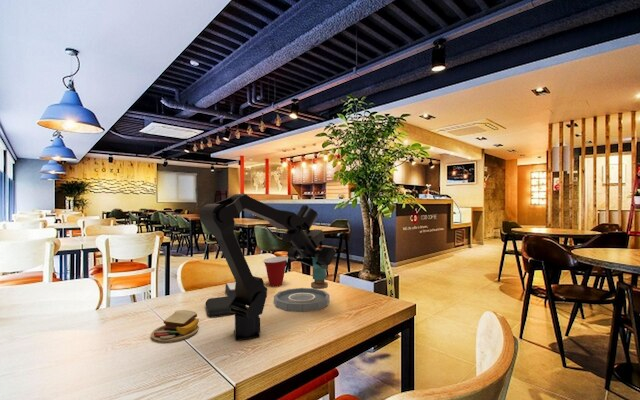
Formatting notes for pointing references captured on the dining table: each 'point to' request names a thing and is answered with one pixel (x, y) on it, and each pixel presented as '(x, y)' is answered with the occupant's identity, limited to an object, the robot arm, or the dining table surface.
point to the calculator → (232, 290)
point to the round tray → (301, 299)
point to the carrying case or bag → (219, 306)
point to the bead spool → (318, 276)
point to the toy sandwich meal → (177, 327)
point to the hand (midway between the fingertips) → (321, 267)
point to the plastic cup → (275, 270)
